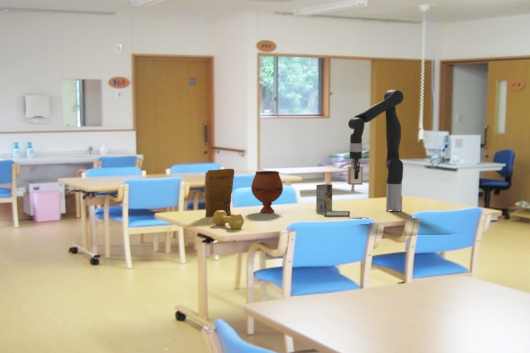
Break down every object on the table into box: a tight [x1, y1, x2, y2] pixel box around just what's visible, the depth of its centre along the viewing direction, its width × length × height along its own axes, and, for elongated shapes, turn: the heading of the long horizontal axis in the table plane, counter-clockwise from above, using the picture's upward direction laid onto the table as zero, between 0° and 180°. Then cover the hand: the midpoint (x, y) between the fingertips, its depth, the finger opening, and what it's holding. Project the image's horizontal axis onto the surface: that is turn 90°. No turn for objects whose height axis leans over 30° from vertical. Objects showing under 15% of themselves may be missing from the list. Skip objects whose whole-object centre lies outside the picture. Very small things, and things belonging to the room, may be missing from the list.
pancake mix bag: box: [204, 168, 235, 218], centre depth 433 cm, size 7×19×28 cm, turn 115°
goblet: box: [251, 170, 284, 214], centre depth 451 cm, size 19×19×25 cm
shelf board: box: [321, 210, 351, 217], centre depth 444 cm, size 15×12×3 cm
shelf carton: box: [347, 165, 364, 186], centre depth 449 cm, size 5×8×11 cm, turn 96°
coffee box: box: [315, 183, 333, 212], centre depth 464 cm, size 9×6×16 cm
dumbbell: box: [212, 210, 245, 230], centre depth 397 cm, size 19×9×8 cm, turn 38°
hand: (355, 178), depth 449 cm, fingers closed on shelf carton, 5 cm apart
